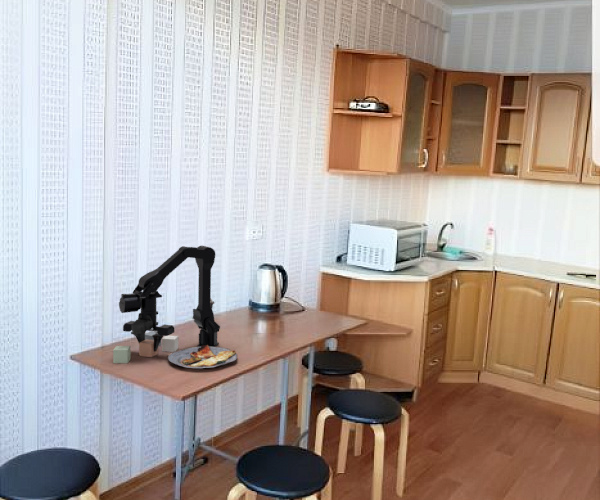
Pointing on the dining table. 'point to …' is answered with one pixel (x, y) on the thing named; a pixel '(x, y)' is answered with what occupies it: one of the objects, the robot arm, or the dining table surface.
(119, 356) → the sage-green block
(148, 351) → the terracotta block
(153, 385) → the dining table surface
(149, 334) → the slate-grey block
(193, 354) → the food plate
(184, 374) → the dining table surface
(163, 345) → the off-white block
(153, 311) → the robot arm
